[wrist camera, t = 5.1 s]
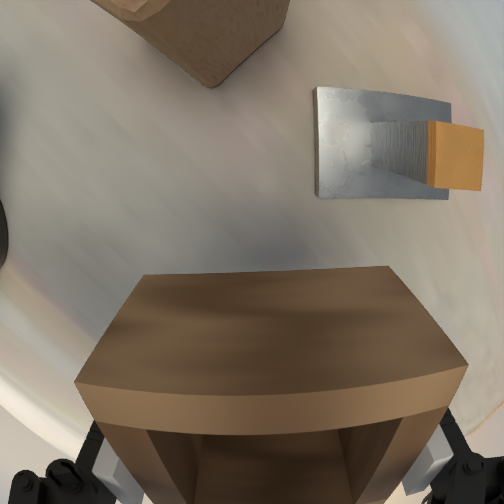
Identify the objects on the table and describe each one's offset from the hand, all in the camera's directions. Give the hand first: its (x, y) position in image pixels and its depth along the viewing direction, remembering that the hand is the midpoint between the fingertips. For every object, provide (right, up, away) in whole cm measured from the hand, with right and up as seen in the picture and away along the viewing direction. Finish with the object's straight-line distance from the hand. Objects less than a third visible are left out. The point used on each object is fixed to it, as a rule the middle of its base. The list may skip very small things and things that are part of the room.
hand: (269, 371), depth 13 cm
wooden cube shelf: (0, 0, 0) cm, 0 cm away
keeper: (+12, +16, +14) cm, 24 cm away
